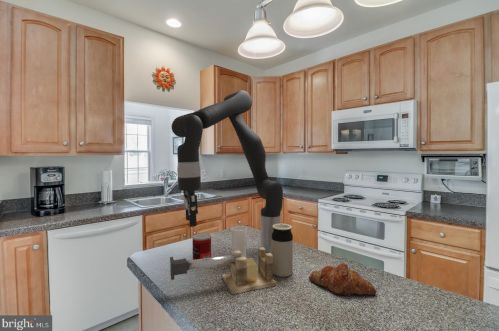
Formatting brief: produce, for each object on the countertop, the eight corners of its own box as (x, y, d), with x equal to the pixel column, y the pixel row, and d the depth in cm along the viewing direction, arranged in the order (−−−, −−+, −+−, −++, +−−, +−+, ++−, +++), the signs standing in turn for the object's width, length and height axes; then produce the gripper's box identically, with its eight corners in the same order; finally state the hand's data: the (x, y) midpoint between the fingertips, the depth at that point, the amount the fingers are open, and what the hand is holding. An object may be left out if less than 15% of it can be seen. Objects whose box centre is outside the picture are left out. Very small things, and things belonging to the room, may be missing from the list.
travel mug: (292, 278, 92) (292, 229, 91) (270, 276, 93) (270, 228, 93) (292, 268, 100) (293, 223, 99) (272, 267, 101) (272, 222, 101)
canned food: (213, 258, 110) (213, 233, 110) (208, 266, 102) (208, 239, 102) (196, 257, 111) (195, 232, 111) (190, 265, 103) (189, 238, 103)
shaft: (236, 261, 91) (236, 248, 91) (241, 268, 86) (241, 253, 85) (170, 272, 83) (169, 257, 83) (171, 279, 78) (170, 264, 77)
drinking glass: (227, 265, 103) (227, 229, 102) (236, 259, 109) (236, 225, 108) (242, 269, 100) (242, 231, 99) (250, 262, 106) (250, 227, 105)
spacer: (250, 273, 93) (250, 257, 93) (257, 281, 88) (257, 264, 87) (240, 275, 92) (240, 259, 92) (246, 283, 86) (246, 265, 86)
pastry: (329, 303, 77) (330, 277, 76) (307, 279, 92) (307, 257, 91) (377, 296, 80) (378, 271, 80) (348, 274, 95) (348, 253, 95)
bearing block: (262, 270, 98) (262, 245, 98) (276, 285, 87) (276, 256, 86) (222, 277, 92) (222, 250, 92) (231, 294, 81) (231, 263, 81)
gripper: (204, 176, 79) (206, 227, 80) (196, 173, 93) (198, 217, 94) (180, 177, 77) (182, 230, 78) (175, 174, 90) (177, 219, 91)
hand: (191, 223), depth 86 cm, fingers open, 8 cm apart
